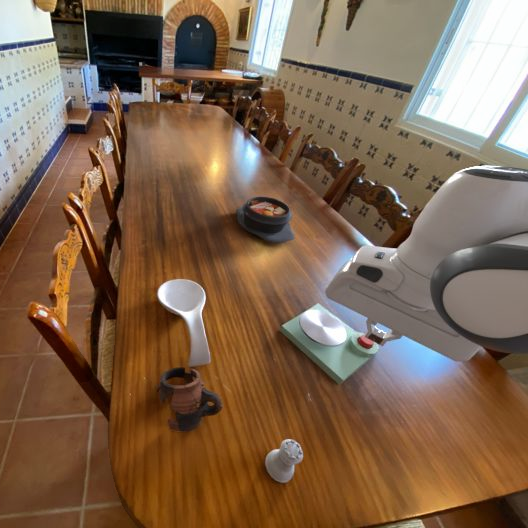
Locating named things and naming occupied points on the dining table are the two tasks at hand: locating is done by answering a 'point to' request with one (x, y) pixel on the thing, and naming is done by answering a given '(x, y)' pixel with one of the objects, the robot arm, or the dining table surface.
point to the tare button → (365, 342)
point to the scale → (331, 349)
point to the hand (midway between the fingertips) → (373, 339)
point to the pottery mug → (188, 399)
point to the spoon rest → (188, 314)
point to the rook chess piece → (284, 460)
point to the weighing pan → (322, 328)
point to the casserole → (266, 219)
